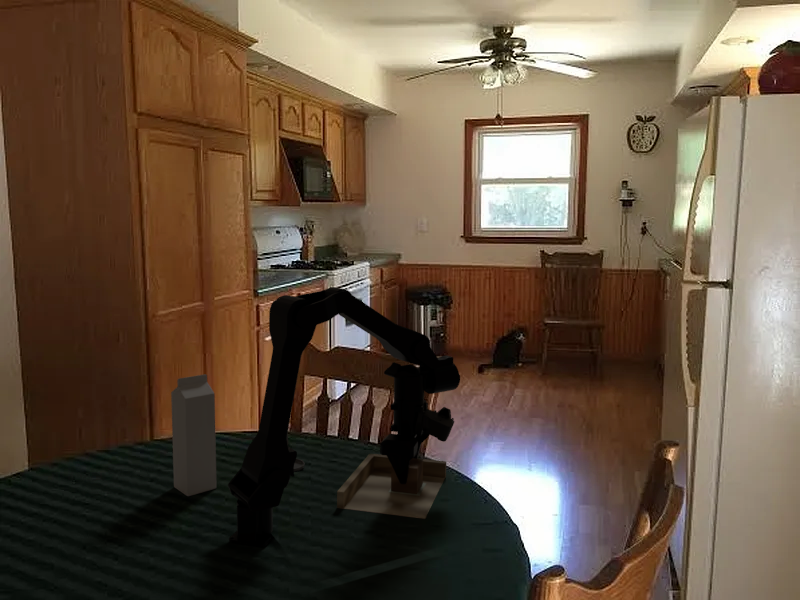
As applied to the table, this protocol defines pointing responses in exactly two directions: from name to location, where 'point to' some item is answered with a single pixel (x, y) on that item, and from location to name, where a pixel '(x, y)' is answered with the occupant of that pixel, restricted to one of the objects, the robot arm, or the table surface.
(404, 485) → the walnut block
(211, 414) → the milk
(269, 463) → the robot arm
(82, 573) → the table surface
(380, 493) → the board
